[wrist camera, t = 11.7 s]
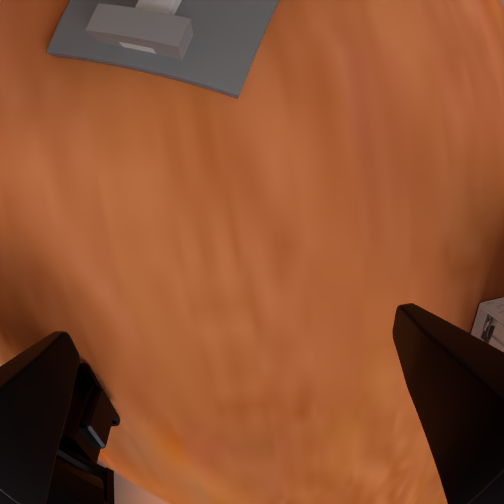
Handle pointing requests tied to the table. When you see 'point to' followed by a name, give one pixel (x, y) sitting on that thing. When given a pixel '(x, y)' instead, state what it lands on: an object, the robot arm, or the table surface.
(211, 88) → the rail plate
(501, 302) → the light bulb box
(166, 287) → the table surface
